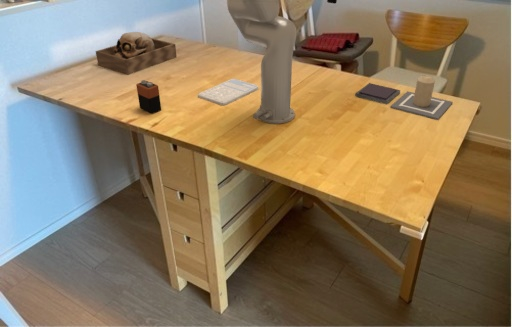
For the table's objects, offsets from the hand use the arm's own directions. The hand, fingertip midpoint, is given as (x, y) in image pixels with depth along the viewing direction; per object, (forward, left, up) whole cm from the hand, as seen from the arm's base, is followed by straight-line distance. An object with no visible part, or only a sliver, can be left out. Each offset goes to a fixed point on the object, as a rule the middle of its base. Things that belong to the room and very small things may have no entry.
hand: (339, 0), depth 145 cm
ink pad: (+6, -16, -32) cm, 36 cm away
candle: (+5, -32, -31) cm, 45 cm away
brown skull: (-23, +84, -32) cm, 93 cm away
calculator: (-24, +29, -32) cm, 50 cm away
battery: (-51, +41, -32) cm, 73 cm away
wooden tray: (-20, +84, -32) cm, 92 cm away
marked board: (+6, -32, -32) cm, 45 cm away
